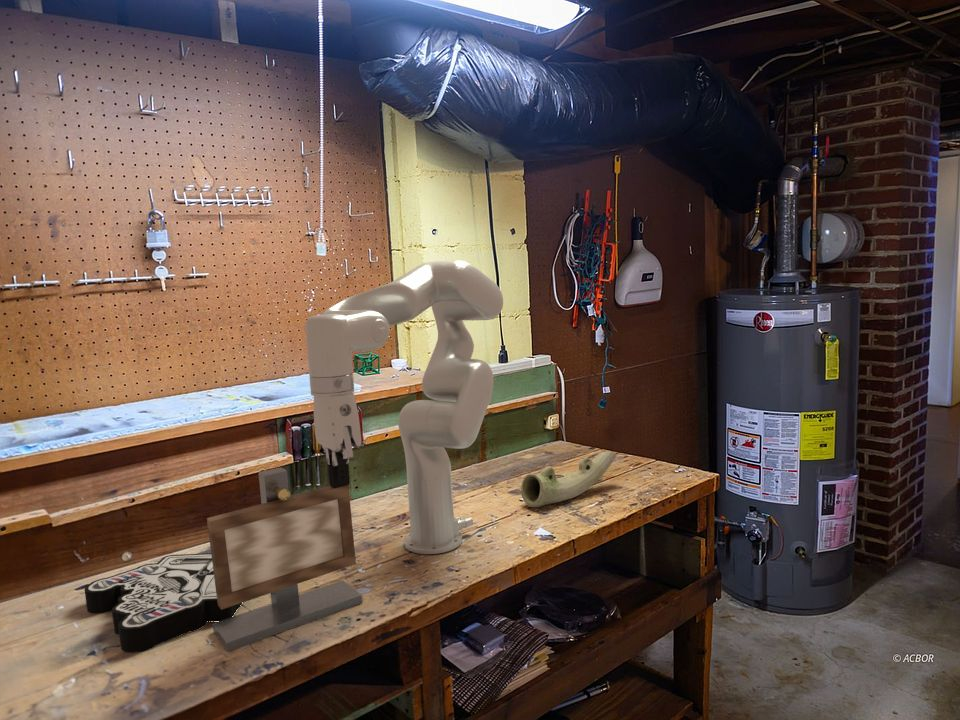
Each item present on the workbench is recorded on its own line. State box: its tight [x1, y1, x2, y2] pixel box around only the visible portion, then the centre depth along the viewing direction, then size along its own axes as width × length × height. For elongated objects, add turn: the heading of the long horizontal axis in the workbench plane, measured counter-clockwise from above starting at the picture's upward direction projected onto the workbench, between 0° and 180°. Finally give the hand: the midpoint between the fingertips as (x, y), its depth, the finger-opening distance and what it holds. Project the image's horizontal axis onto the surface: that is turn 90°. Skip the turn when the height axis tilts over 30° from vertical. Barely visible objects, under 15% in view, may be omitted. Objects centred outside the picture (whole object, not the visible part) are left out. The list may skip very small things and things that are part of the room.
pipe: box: [520, 450, 618, 508], centre depth 174 cm, size 28×8×10 cm, turn 128°
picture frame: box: [206, 484, 357, 610], centre depth 118 cm, size 24×2×15 cm, turn 126°
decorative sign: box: [84, 552, 243, 654], centre depth 129 cm, size 28×4×30 cm
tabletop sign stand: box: [212, 467, 363, 652], centre depth 118 cm, size 24×8×26 cm, turn 126°
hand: (339, 485), depth 123 cm, fingers closed
